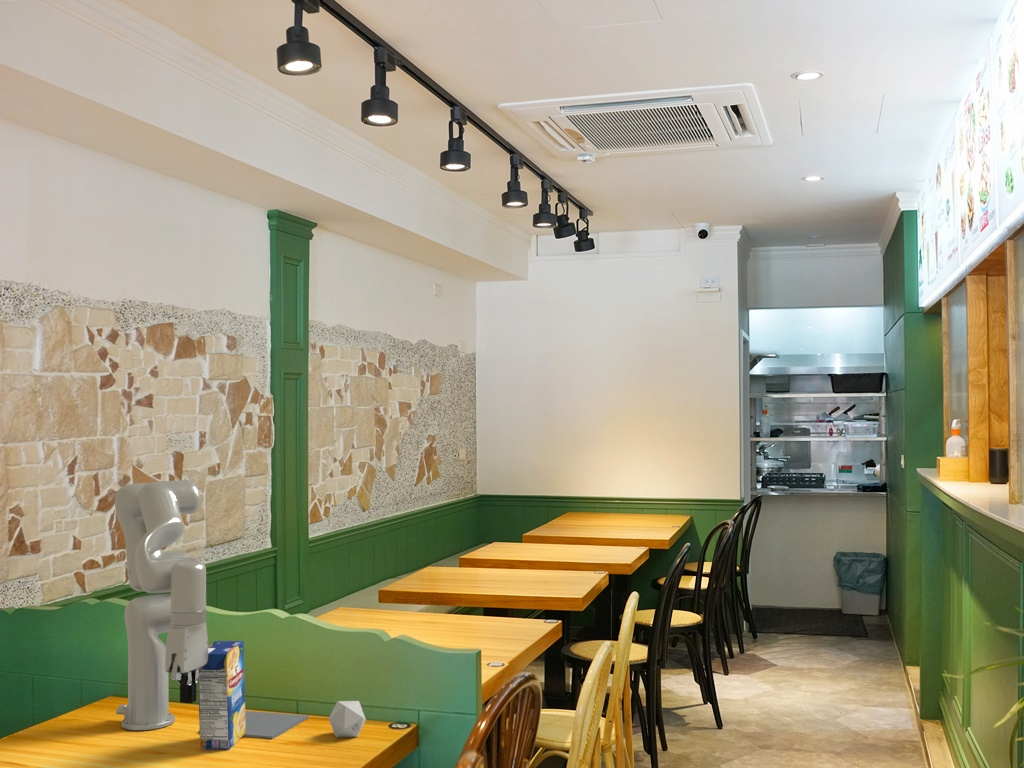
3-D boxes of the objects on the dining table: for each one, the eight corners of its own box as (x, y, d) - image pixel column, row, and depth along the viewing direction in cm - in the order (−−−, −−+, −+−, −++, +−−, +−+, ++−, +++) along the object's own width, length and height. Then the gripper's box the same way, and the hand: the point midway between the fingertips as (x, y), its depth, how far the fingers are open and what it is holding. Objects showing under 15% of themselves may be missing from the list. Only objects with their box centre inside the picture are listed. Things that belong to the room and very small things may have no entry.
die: (348, 746, 231) (371, 708, 234) (317, 726, 233) (341, 689, 236) (353, 748, 238) (375, 712, 242) (323, 729, 240) (346, 693, 244)
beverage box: (199, 749, 228) (197, 653, 227) (218, 732, 239) (215, 640, 238) (228, 750, 227) (226, 654, 227) (245, 732, 238) (243, 640, 238)
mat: (198, 733, 240) (198, 730, 240) (238, 712, 258) (238, 710, 258) (272, 739, 235) (272, 736, 235) (308, 717, 252) (308, 715, 252)
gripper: (193, 611, 229) (193, 692, 228) (152, 624, 215) (152, 710, 214) (222, 612, 227) (222, 694, 226) (182, 625, 213) (182, 712, 212)
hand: (188, 701), depth 220 cm, fingers closed
